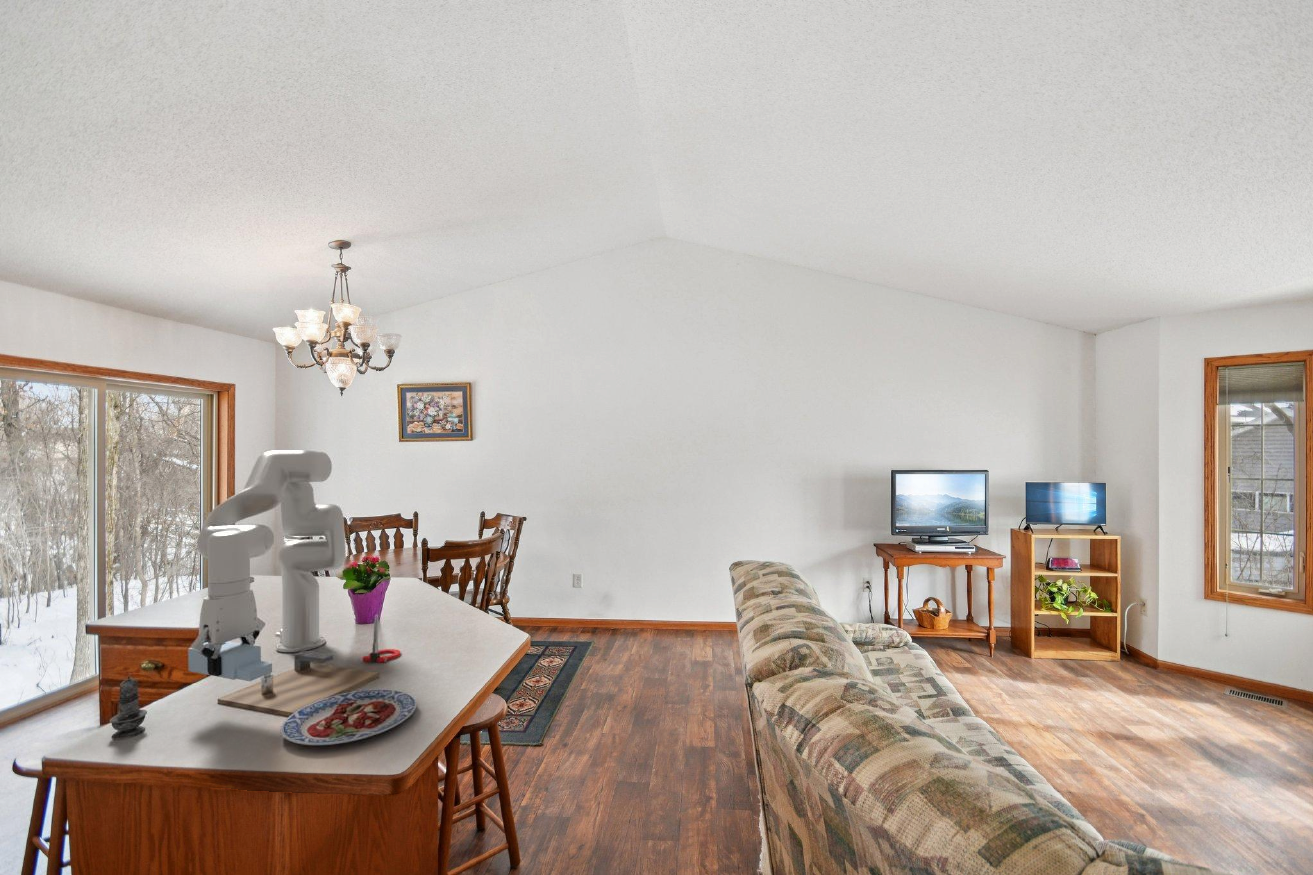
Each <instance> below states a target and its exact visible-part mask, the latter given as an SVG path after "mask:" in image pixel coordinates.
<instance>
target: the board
mask: <svg viewBox="0 0 1313 875" xmlns="http://www.w3.org/2000/svg"><path fill="white" fill-rule="evenodd" d="M379 676H380V674H379V672H375V671H370V670H369V671H367V670H361V669H353V668H348V667H340V666H334V665H327V664H322V663H315V662H310V668H308V669H305V670H303V671H294V668H291V669H288V670H286V671H284V672H282V673H280V674H277V675H273V693H271V694H268V695H261V681H260V682H257V683H254V684H251V685H249V686H246V687H244V688H242V689H241V688H240V689H239V690H237V691H234V692H232V693H229V694H226V695H224V696H221V697H219V698H217V704H220V705H226V706H230V707H236V708H242V709H246V710H247V709H248V710H253V711H257V712H258V711H259V712H263V713H269V714H275V715H278V716H285V717H289V716H291V715H292V714H293V713H295V712H297V711H298V710H300V709H302V708H304V707H306V706H307V705H310V704H312V703H315V702H317V701H319V700H322V699H325V698H328V697H332V696H336V695H339V694H344V693H349V692H352V691H353V690H355V689H357V688H359V687H361V686H363V685H365V684H367V683H369V682H371V681H374V680H375V679H377V678H379Z"/></svg>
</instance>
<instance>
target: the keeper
mask: <svg viewBox="0 0 1313 875" xmlns="http://www.w3.org/2000/svg"><path fill="white" fill-rule="evenodd" d="M293 656H294V662H293V663H294V665H293V666H294V667H293V669H294V671H303V670H305V669H308V668H310V663H316V664H326V663H328V662H330V661H333V660H334V654H330V653H324V652H323V653H322V652H316V651H310V650H305V651H299V652H298V653H297V652H296V653H295V654H294V655H293Z"/></svg>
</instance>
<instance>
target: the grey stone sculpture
mask: <svg viewBox="0 0 1313 875" xmlns="http://www.w3.org/2000/svg"><path fill="white" fill-rule="evenodd" d="M138 684H139V683H138V680H137V679H135V678H131V675H130V674H129V675H127V677H126V679H125V680H123V681H121V683H119V697H118V698H117V700H116V701H117V702H118V712H117V714H116V715H114V716H113V717H111V718H110V719H109V723H111V726H112V728H113V729H114V730H116V732H114V733H113V734H112V735H111V739H112V740H125V739H128V738H129V739H130V738H133V737H136V736H138V735H140V734H143V733H144V732H145V731H146V727H145V726H141V725H142V724H143V722H144V721H145V718H146V715H147V714H148V710H147V709H140V706H139V698H140V696H141V694H139V689H138V688H139V685H138Z"/></svg>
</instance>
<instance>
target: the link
mask: <svg viewBox="0 0 1313 875" xmlns="http://www.w3.org/2000/svg"><path fill="white" fill-rule="evenodd" d="M203 645H204V646H205V647H206V648H207V645H208V642H206V643H204V644H203ZM214 647H215V645H214ZM261 648H262V647H261V646H260V645H255V644H254V645H249V644H243V643H241V642H235V641H232V640H231V641H228V642H225V643H223V644H222V647H221V650H220V653H219V656H218V657H221V675H220V676H216V677H219V678H223V679H227V680H233V681H235V680H241V681H245V682H252V681H254V680H257V679H259V678H261V677H263V676H264V675H267V674H269V673H273V663H272V662H268V661H262V651H261V650H262V649H261ZM213 649H214V648H213ZM187 651H188V655H187V656H188V659H187V660H188V662H187V663H188V672H192V673H195V674H196V673H197V674H201V675H202V674H203V675H207V676H210V675H209V674H208V670H207V657H204V655H202V654H200V653H199V652H198V651H196V650H194V649H192V648H191V647H188V650H187ZM211 676H213V675H211ZM213 677H214V676H213Z"/></svg>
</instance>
